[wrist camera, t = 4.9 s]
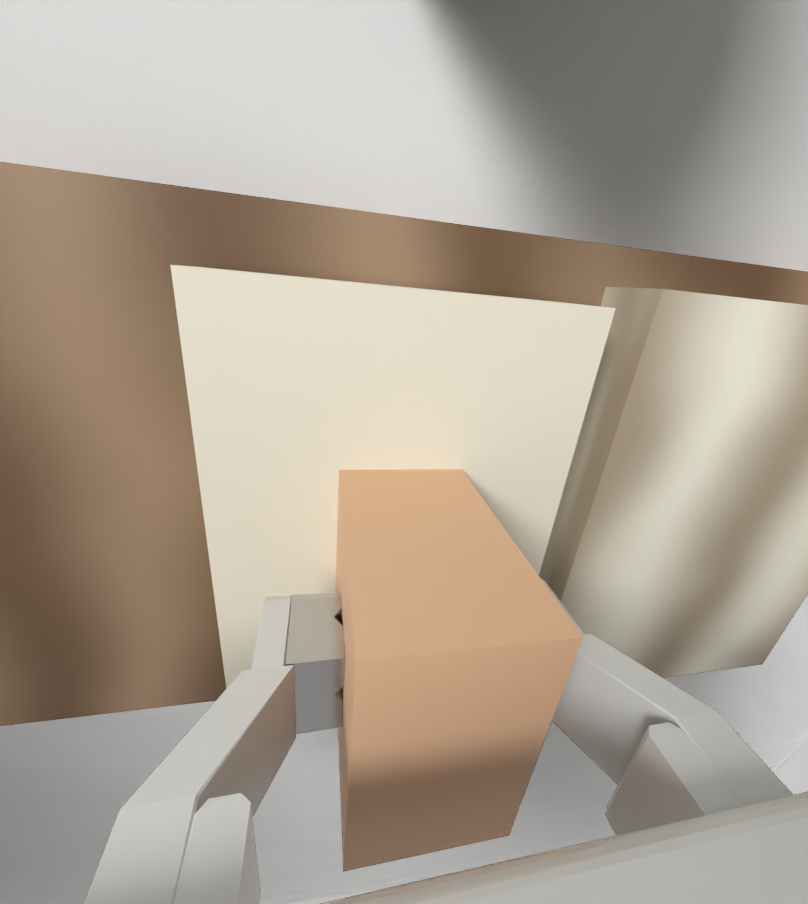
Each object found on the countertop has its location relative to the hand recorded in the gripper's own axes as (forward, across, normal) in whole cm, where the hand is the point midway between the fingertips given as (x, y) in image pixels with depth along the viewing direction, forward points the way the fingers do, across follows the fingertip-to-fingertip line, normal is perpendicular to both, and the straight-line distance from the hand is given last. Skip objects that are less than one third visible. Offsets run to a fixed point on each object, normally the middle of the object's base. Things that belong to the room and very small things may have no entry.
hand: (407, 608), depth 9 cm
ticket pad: (+6, -2, 0) cm, 6 cm away
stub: (+4, 0, 0) cm, 4 cm away
